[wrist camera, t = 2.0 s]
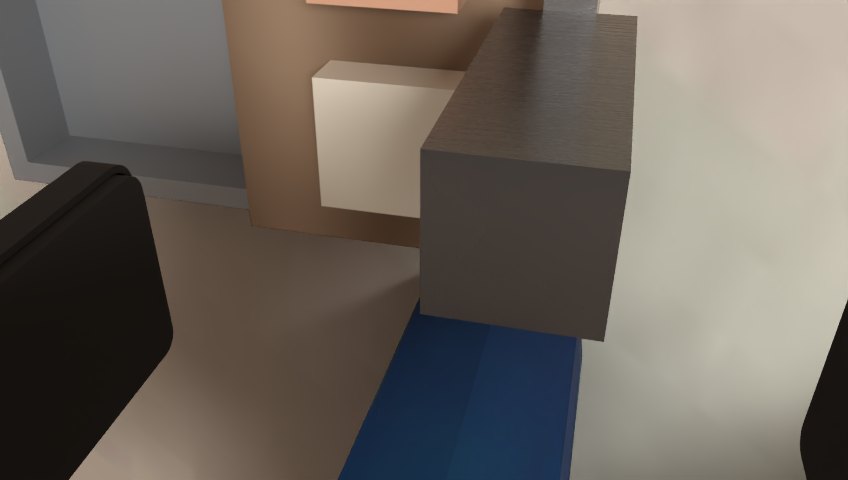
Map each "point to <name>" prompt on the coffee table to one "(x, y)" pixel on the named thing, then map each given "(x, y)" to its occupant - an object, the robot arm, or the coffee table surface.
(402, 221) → the brown tray
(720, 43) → the coffee table surface
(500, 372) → the book
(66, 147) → the box
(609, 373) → the coffee table surface
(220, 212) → the coffee table surface
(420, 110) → the tile cream
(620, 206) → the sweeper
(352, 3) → the tile terracotta
